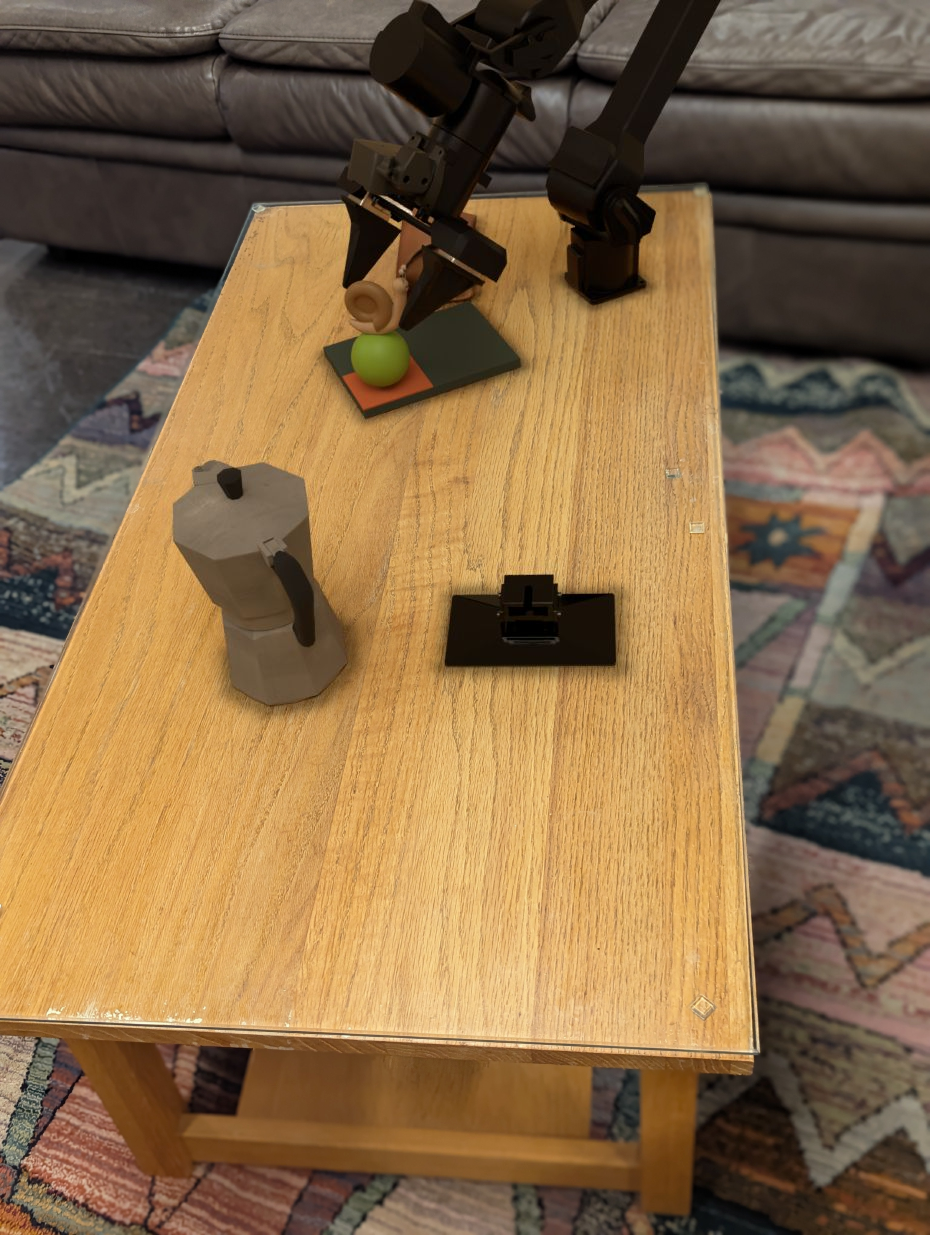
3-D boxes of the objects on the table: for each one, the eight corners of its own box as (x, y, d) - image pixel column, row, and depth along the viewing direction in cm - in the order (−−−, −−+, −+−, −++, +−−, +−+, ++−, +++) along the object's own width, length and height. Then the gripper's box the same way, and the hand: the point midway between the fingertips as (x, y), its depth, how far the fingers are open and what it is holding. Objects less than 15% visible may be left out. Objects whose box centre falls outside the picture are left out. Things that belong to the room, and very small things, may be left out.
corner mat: (470, 309, 111) (469, 299, 110) (520, 366, 103) (520, 356, 102) (324, 355, 108) (322, 345, 107) (365, 419, 100) (363, 408, 99)
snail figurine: (414, 401, 99) (396, 283, 90) (348, 396, 101) (324, 280, 92) (430, 367, 103) (414, 250, 94) (366, 362, 104) (344, 247, 95)
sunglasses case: (478, 295, 112) (439, 247, 108) (424, 330, 115) (385, 284, 111) (478, 212, 124) (443, 166, 120) (429, 246, 127) (393, 201, 123)
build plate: (444, 668, 79) (436, 625, 75) (453, 596, 84) (446, 553, 80) (616, 667, 77) (616, 623, 74) (614, 593, 82) (614, 549, 79)
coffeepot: (196, 635, 83) (120, 451, 70) (304, 581, 86) (250, 395, 73) (285, 768, 74) (217, 585, 61) (402, 702, 77) (362, 514, 64)
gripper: (335, 66, 91) (253, 236, 95) (465, 130, 80) (366, 319, 84) (422, 128, 100) (343, 282, 104) (551, 194, 89) (457, 362, 93)
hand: (373, 308), depth 96 cm, fingers open, 9 cm apart
